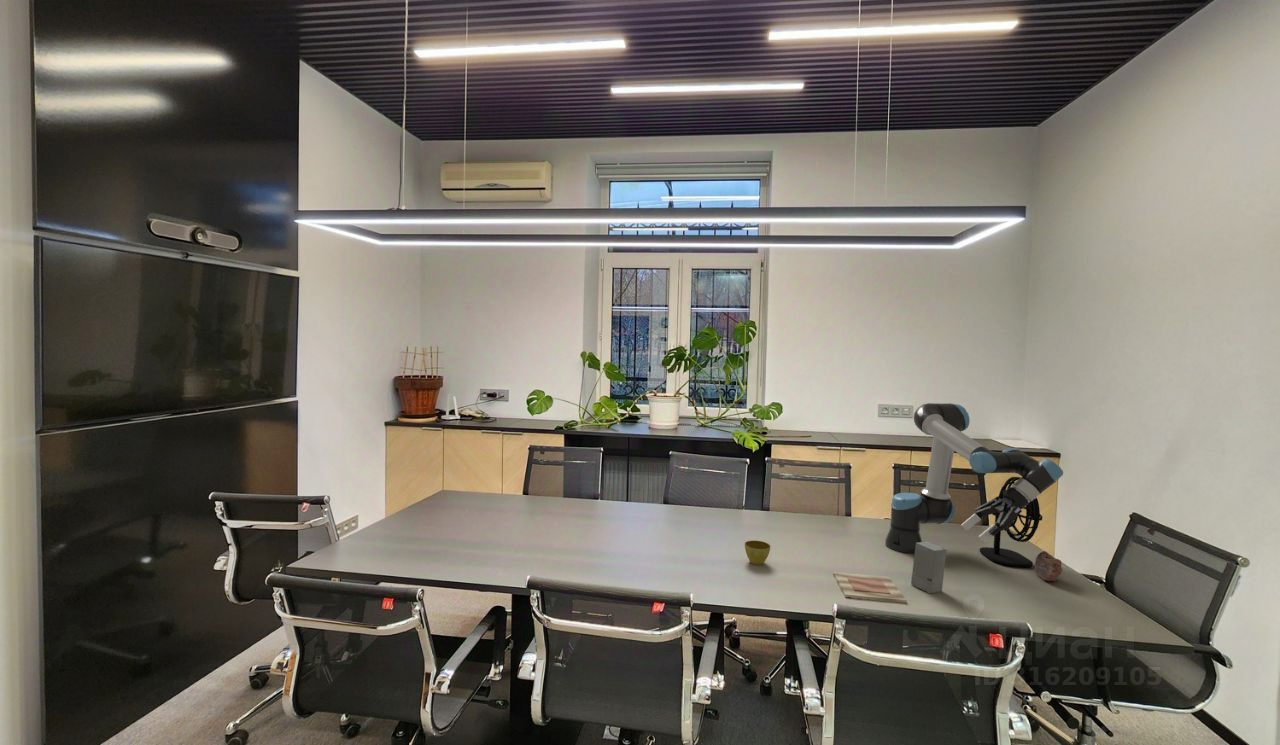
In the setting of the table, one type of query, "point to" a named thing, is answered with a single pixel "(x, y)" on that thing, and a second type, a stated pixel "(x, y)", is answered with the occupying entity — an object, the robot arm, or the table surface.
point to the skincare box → (928, 567)
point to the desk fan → (1007, 555)
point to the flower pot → (757, 551)
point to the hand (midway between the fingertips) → (972, 533)
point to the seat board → (869, 587)
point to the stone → (1047, 566)
